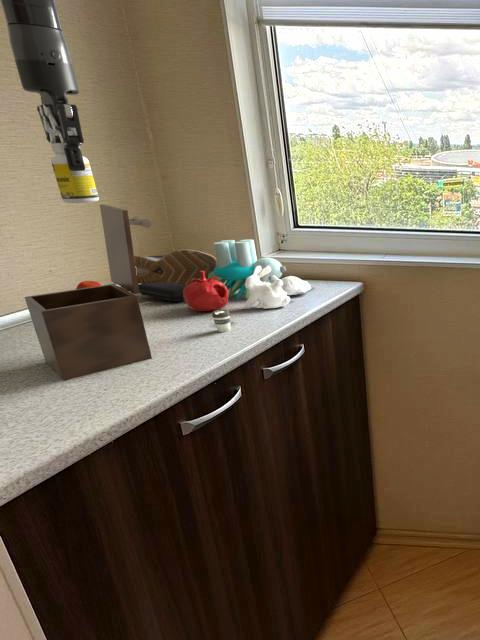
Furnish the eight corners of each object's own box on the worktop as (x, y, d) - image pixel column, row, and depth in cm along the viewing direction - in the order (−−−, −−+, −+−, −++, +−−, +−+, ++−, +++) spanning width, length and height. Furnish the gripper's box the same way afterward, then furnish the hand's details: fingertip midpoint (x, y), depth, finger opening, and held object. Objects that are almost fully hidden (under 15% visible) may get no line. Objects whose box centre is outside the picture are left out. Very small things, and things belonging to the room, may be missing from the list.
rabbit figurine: (237, 309, 126) (230, 270, 122) (250, 301, 133) (243, 263, 129) (287, 309, 126) (281, 270, 122) (297, 301, 133) (291, 263, 129)
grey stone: (286, 290, 143) (284, 272, 141) (314, 290, 143) (312, 273, 141) (272, 298, 135) (269, 279, 133) (302, 298, 135) (299, 280, 133)
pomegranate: (185, 316, 120) (176, 277, 117) (188, 305, 129) (179, 268, 125) (231, 311, 124) (224, 273, 121) (231, 301, 133) (224, 265, 129)
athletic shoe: (201, 247, 139) (231, 245, 150) (115, 254, 145) (149, 251, 156) (210, 288, 142) (238, 283, 153) (125, 293, 148) (158, 287, 159)
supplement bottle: (57, 202, 92) (40, 143, 89) (92, 200, 97) (76, 143, 93) (70, 203, 90) (52, 142, 86) (105, 201, 94) (89, 143, 90)
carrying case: (170, 279, 143) (209, 286, 138) (171, 290, 144) (210, 297, 139) (133, 283, 134) (172, 290, 129) (134, 294, 135) (173, 302, 129)
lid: (122, 210, 87) (158, 210, 91) (99, 204, 94) (133, 205, 98) (133, 293, 91) (167, 290, 95) (111, 281, 99) (143, 279, 103)
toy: (290, 237, 141) (297, 291, 146) (208, 238, 139) (218, 293, 144) (278, 243, 130) (286, 301, 135) (189, 245, 128) (200, 303, 133)
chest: (64, 384, 87) (41, 311, 82) (46, 364, 95) (24, 296, 90) (152, 362, 97) (137, 295, 92) (130, 345, 104) (114, 283, 99)
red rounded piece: (87, 284, 118) (88, 316, 120) (112, 283, 124) (112, 313, 126) (65, 280, 119) (67, 311, 121) (91, 279, 125) (92, 309, 127)
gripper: (4, 61, 86) (35, 168, 93) (25, 53, 78) (58, 172, 84) (59, 67, 92) (85, 168, 98) (84, 60, 83) (110, 171, 89)
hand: (72, 169), depth 91 cm, fingers closed on supplement bottle, 5 cm apart
